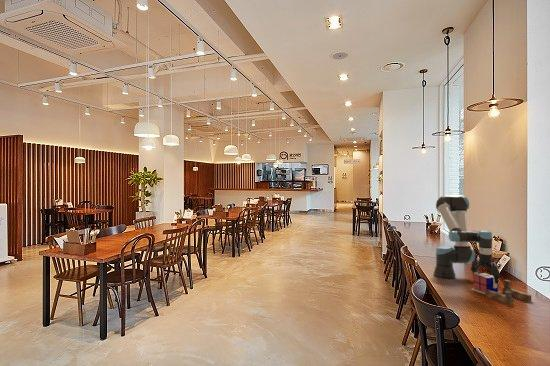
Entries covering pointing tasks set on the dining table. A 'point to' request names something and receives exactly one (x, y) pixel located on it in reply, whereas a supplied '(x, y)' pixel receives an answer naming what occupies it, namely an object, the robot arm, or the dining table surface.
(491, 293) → the plane body cradle
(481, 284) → the puzzle cube
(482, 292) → the white square panel
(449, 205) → the robot arm
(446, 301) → the dining table surface
